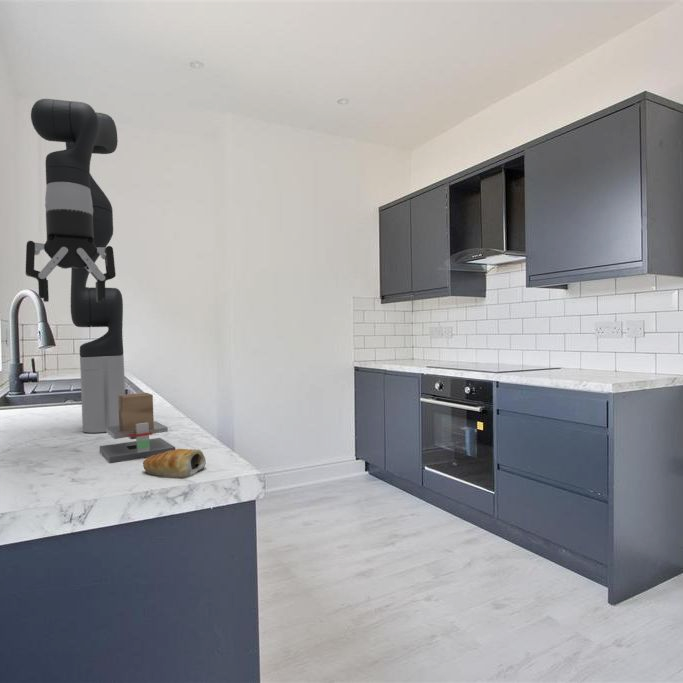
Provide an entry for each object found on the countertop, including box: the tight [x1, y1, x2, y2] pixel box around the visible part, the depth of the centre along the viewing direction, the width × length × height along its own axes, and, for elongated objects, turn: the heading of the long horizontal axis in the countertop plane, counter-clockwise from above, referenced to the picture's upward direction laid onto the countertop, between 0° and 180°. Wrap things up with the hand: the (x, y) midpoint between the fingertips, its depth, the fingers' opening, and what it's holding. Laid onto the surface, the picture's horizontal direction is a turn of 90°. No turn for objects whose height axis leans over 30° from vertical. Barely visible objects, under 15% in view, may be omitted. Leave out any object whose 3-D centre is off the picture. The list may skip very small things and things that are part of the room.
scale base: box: [99, 423, 177, 464], centre depth 91 cm, size 11×11×6 cm
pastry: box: [142, 448, 207, 479], centre depth 77 cm, size 9×7×4 cm
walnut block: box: [118, 392, 155, 431], centre depth 91 cm, size 5×5×6 cm
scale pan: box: [105, 420, 169, 440], centre depth 90 cm, size 11×9×2 cm
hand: (73, 301), depth 89 cm, fingers open, 8 cm apart
